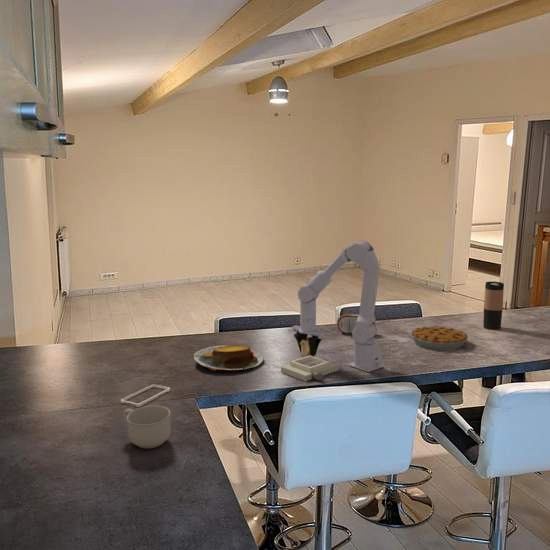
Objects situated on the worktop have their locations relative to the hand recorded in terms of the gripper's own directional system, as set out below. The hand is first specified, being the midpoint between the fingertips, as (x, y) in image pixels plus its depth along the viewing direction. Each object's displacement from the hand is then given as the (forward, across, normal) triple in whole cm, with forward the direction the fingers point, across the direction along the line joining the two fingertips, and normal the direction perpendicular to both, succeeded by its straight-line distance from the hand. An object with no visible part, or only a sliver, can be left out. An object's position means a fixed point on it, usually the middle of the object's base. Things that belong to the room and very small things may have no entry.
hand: (307, 353), depth 211 cm
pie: (+2, +22, +52) cm, 56 cm away
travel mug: (+2, +25, +89) cm, 92 cm away
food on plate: (+2, -16, -25) cm, 30 cm away
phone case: (+2, -7, -63) cm, 63 cm away
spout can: (+2, 0, 0) cm, 2 cm away
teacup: (+2, +20, -78) cm, 81 cm away
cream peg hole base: (+2, +13, -10) cm, 16 cm away
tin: (+2, -10, +38) cm, 39 cm away
